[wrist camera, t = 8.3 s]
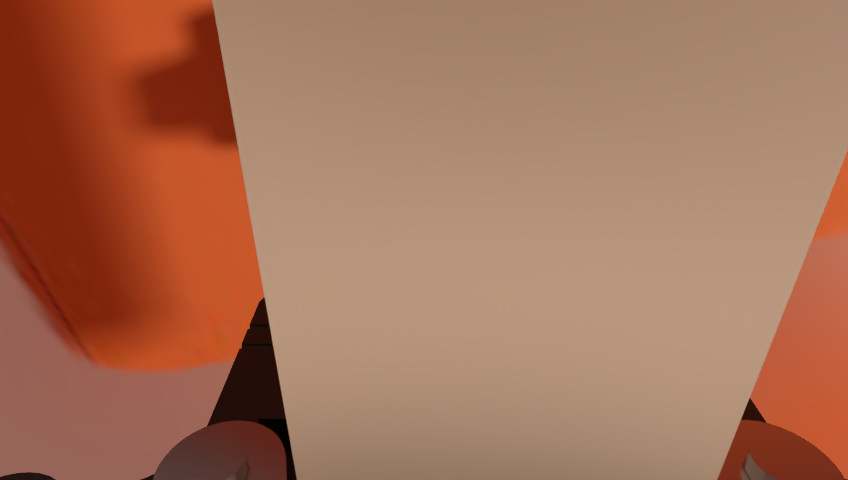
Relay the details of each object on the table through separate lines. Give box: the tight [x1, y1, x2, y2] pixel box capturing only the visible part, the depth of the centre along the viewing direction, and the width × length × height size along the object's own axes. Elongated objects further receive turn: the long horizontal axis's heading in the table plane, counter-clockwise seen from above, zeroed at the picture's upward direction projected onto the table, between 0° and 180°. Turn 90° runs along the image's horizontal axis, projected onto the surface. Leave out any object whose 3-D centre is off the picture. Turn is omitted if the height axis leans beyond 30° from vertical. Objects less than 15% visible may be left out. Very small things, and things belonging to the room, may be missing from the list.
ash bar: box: [212, 0, 848, 480], centre depth 9 cm, size 20×4×7 cm, turn 0°
